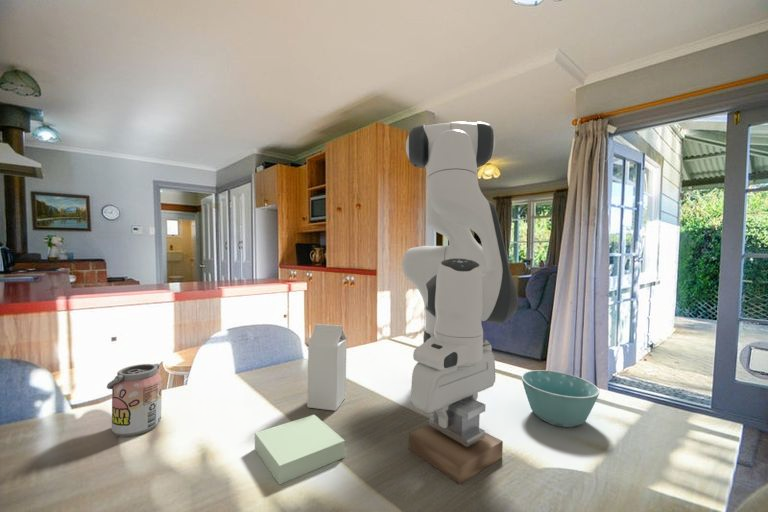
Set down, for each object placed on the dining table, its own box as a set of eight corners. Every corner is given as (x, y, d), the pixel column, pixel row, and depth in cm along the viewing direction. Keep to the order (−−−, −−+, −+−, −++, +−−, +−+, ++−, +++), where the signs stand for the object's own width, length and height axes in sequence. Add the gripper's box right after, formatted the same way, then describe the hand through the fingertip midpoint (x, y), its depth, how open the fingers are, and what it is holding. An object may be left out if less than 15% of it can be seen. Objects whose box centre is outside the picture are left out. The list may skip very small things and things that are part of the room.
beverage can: (97, 432, 67) (97, 372, 67) (140, 413, 75) (141, 359, 75) (129, 442, 64) (129, 379, 64) (170, 421, 72) (171, 365, 71)
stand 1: (313, 428, 70) (314, 414, 70) (344, 457, 61) (345, 440, 61) (254, 448, 63) (254, 432, 63) (279, 484, 53) (279, 465, 53)
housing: (446, 417, 68) (447, 387, 68) (484, 437, 61) (485, 404, 61) (429, 424, 65) (429, 394, 65) (467, 447, 58) (468, 412, 58)
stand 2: (451, 429, 71) (451, 415, 71) (502, 457, 62) (502, 441, 62) (408, 449, 64) (409, 433, 64) (459, 484, 54) (460, 465, 54)
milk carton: (335, 411, 78) (337, 329, 78) (307, 408, 79) (308, 327, 79) (345, 398, 85) (347, 323, 85) (318, 395, 86) (320, 321, 86)
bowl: (605, 418, 78) (606, 382, 78) (588, 445, 66) (590, 403, 66) (534, 396, 88) (535, 365, 88) (509, 417, 77) (510, 381, 77)
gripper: (477, 334, 72) (476, 399, 72) (406, 352, 59) (404, 430, 59) (504, 341, 67) (502, 410, 67) (433, 362, 54) (431, 448, 54)
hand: (456, 420), depth 63 cm, fingers closed on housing, 5 cm apart
